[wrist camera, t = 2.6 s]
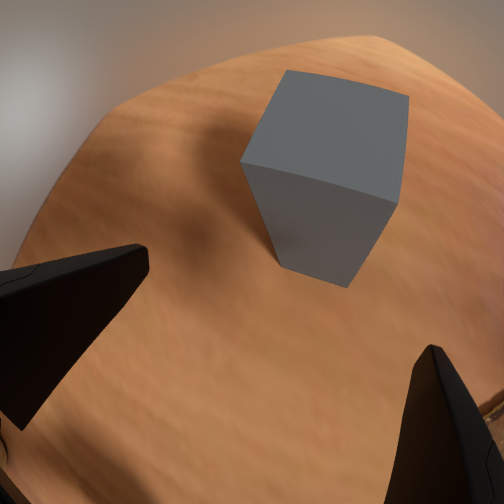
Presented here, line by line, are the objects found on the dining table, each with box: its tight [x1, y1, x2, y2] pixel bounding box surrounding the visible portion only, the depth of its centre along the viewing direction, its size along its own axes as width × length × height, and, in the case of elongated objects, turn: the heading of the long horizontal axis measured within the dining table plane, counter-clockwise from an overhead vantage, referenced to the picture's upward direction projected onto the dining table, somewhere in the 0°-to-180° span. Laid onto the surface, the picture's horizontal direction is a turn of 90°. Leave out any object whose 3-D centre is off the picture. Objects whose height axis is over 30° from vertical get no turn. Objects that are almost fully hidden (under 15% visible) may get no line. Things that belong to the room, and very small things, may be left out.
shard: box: [483, 401, 504, 460], centre depth 13 cm, size 11×8×2 cm
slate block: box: [240, 70, 409, 288], centre depth 15 cm, size 5×5×13 cm
